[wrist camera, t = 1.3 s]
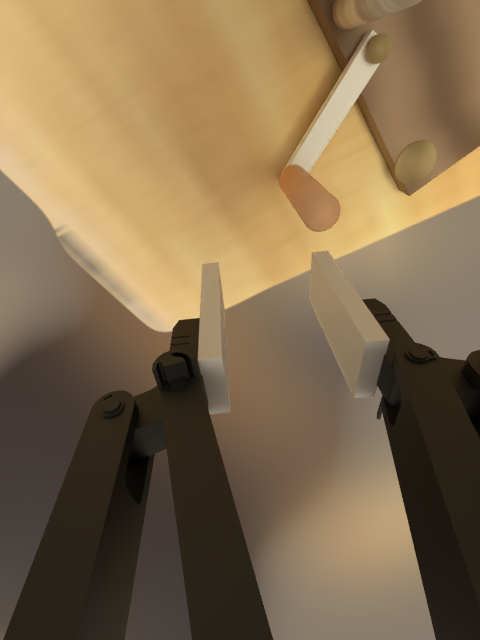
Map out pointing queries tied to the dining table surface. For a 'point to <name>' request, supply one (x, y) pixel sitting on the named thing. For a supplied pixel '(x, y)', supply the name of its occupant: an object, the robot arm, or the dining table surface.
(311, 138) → the crank handle
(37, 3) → the dining table surface
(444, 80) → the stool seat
